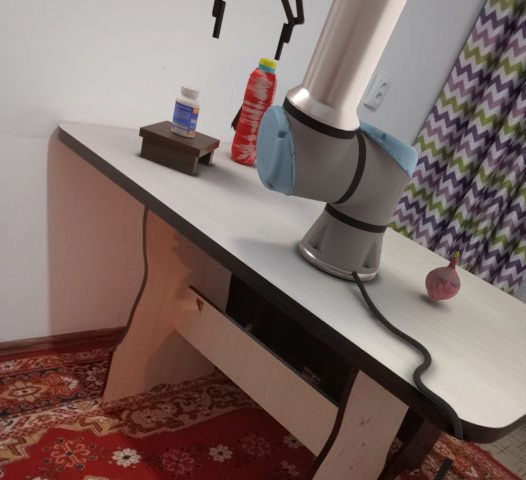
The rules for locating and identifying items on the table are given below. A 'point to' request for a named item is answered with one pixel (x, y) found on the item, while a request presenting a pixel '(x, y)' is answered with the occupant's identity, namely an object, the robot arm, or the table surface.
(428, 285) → the vegetable
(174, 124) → the pill bottle
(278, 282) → the table surface
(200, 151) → the stand
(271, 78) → the water bottle
